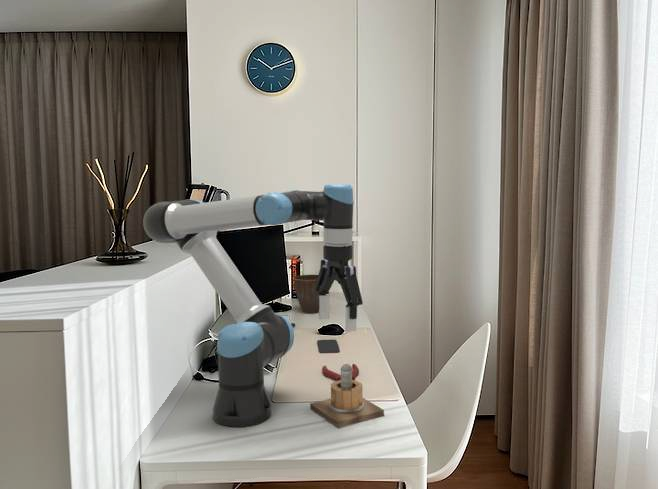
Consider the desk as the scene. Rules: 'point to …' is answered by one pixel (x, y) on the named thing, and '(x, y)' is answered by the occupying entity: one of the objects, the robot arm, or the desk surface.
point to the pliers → (338, 376)
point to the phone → (328, 346)
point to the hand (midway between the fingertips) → (337, 324)
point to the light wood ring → (346, 396)
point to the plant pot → (307, 293)
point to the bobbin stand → (346, 416)
